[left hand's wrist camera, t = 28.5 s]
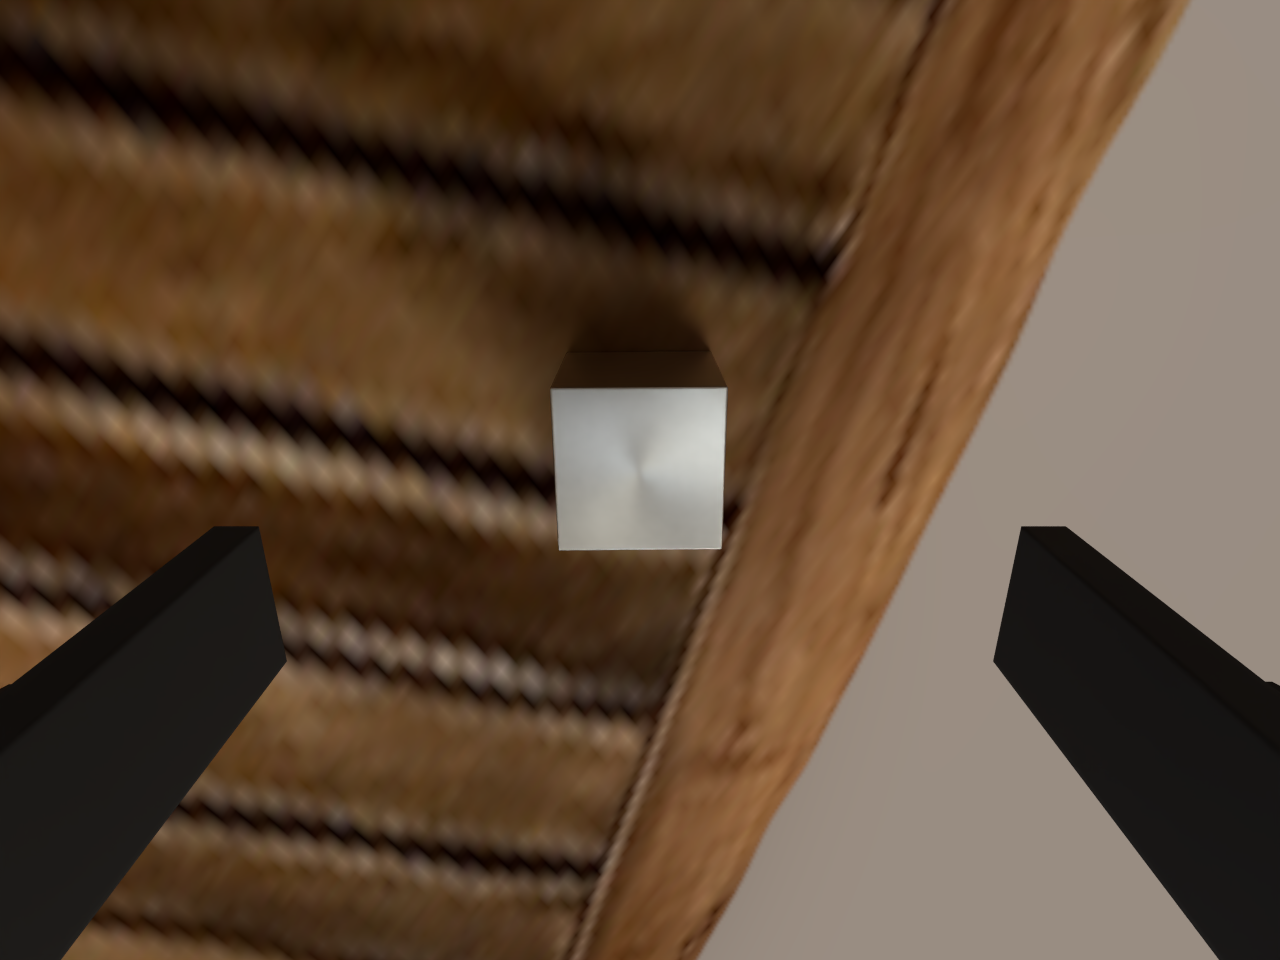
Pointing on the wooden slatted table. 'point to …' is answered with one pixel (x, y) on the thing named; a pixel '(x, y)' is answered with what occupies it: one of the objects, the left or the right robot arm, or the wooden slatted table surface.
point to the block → (639, 450)
